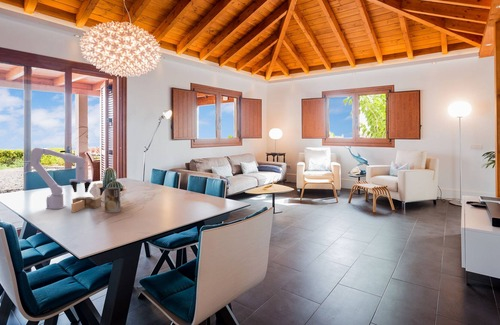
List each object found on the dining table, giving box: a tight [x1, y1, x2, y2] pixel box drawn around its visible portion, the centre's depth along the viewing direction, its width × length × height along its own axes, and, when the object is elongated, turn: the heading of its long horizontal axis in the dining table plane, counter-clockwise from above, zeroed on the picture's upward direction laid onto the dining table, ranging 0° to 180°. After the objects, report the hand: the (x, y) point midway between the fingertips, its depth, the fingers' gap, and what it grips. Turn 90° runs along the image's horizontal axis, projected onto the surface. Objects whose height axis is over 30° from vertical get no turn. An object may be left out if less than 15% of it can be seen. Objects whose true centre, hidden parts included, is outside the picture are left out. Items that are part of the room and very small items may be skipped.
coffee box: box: [103, 186, 122, 214], centre depth 194 cm, size 9×6×16 cm
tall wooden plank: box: [71, 200, 86, 213], centre depth 195 cm, size 2×12×6 cm, turn 1°
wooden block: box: [72, 196, 102, 209], centre depth 206 cm, size 16×8×7 cm, turn 91°
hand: (80, 192), depth 208 cm, fingers open, 7 cm apart
